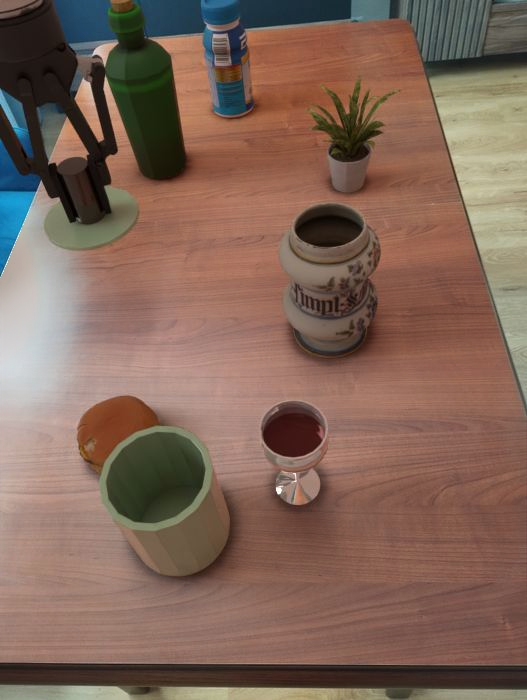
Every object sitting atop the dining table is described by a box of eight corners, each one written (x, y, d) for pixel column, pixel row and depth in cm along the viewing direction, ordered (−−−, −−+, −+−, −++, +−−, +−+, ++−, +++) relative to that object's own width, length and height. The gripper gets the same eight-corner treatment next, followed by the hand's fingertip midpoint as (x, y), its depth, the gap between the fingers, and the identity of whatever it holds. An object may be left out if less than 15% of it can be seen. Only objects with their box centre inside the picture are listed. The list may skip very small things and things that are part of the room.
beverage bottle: (204, 109, 117) (185, 1, 101) (236, 92, 120) (222, -15, 104) (231, 124, 113) (216, 13, 97) (263, 106, 116) (253, -4, 100)
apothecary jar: (308, 287, 84) (304, 181, 70) (388, 311, 80) (401, 204, 66) (269, 347, 77) (256, 244, 63) (354, 377, 73) (360, 274, 59)
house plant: (375, 147, 104) (381, 54, 91) (410, 191, 95) (423, 95, 82) (299, 167, 102) (295, 75, 89) (329, 214, 93) (329, 119, 81)
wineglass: (255, 478, 66) (244, 422, 56) (303, 446, 68) (299, 387, 59) (291, 525, 62) (285, 473, 53) (341, 489, 64) (343, 433, 55)
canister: (115, 548, 62) (76, 499, 52) (169, 468, 68) (142, 410, 58) (197, 594, 58) (171, 551, 49) (247, 506, 64) (233, 451, 54)
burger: (178, 424, 71) (169, 403, 68) (138, 491, 66) (127, 472, 63) (111, 400, 74) (100, 379, 71) (68, 462, 69) (53, 442, 66)
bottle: (200, 151, 108) (168, -17, 86) (182, 187, 101) (142, 15, 79) (146, 148, 110) (101, -17, 88) (126, 183, 104) (72, 14, 82)
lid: (27, 239, 71) (-2, 183, 65) (87, 185, 77) (66, 128, 71) (102, 266, 67) (79, 208, 61) (158, 207, 73) (143, 149, 67)
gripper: (-90, 38, 49) (21, 248, 68) (105, -1, 51) (162, 213, 70) (-83, 5, 54) (19, 209, 72) (95, -30, 56) (151, 177, 74)
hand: (89, 211), depth 71 cm, fingers closed on lid, 4 cm apart
